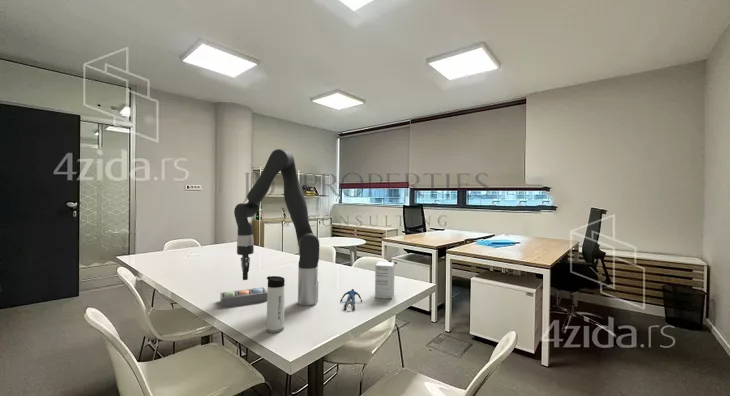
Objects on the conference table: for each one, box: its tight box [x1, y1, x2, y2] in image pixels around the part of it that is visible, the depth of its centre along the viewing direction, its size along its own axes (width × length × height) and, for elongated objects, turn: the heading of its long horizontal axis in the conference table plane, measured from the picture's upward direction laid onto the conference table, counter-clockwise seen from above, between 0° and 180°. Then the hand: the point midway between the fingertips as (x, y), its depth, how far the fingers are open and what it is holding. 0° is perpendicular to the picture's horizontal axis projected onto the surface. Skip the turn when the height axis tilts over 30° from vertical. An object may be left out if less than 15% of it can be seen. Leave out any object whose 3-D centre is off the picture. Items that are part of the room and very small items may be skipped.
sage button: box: [224, 291, 235, 297], centre depth 138 cm, size 5×5×4 cm
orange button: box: [238, 289, 249, 295], centre depth 141 cm, size 5×5×4 cm
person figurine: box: [340, 288, 363, 311], centre depth 140 cm, size 11×4×18 cm
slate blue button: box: [252, 287, 263, 293], centre depth 144 cm, size 5×5×4 cm
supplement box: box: [374, 261, 396, 299], centre depth 153 cm, size 10×9×17 cm
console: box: [219, 287, 267, 309], centre depth 141 cm, size 20×10×4 cm, turn 119°
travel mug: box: [266, 275, 286, 334], centre depth 111 cm, size 6×7×20 cm
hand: (245, 279), depth 141 cm, fingers closed
